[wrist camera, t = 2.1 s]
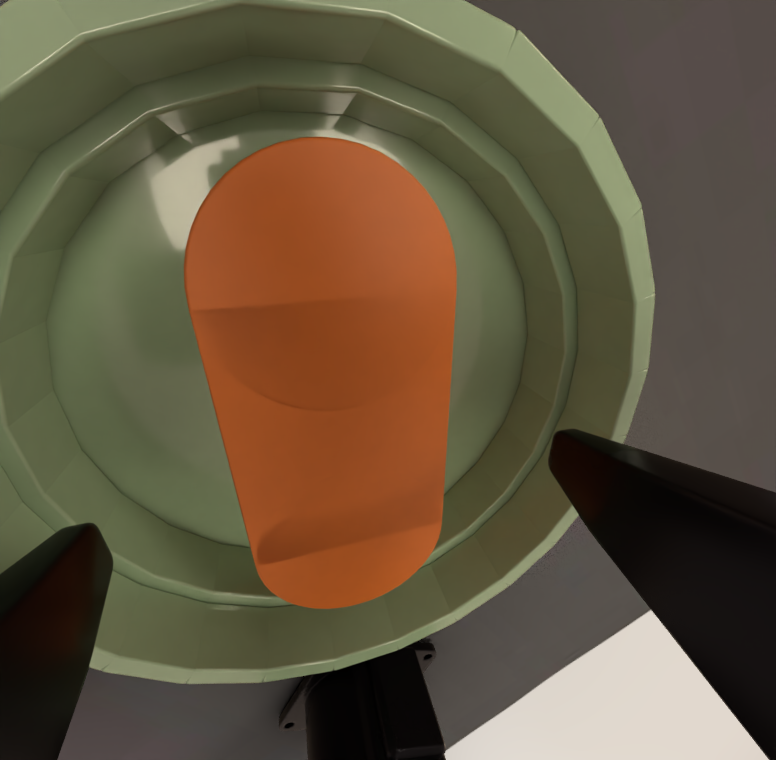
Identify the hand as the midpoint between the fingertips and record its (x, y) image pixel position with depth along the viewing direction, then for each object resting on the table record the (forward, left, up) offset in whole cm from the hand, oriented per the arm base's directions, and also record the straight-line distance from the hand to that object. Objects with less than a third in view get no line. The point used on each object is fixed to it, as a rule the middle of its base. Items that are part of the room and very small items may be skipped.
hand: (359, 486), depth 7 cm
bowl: (0, 0, -5) cm, 5 cm away
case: (0, 0, -5) cm, 5 cm away
